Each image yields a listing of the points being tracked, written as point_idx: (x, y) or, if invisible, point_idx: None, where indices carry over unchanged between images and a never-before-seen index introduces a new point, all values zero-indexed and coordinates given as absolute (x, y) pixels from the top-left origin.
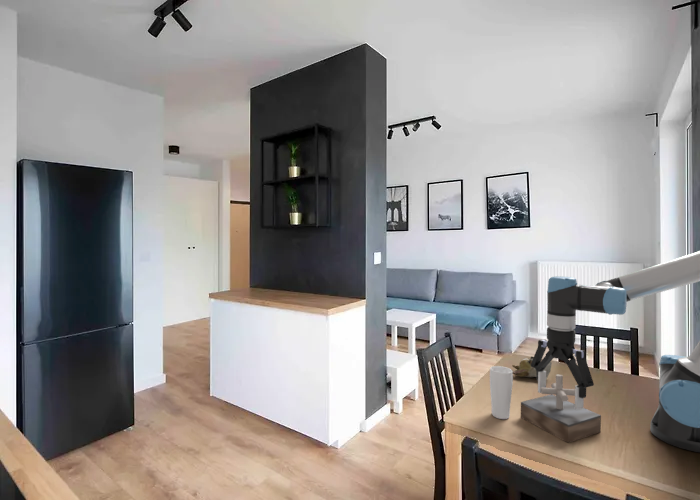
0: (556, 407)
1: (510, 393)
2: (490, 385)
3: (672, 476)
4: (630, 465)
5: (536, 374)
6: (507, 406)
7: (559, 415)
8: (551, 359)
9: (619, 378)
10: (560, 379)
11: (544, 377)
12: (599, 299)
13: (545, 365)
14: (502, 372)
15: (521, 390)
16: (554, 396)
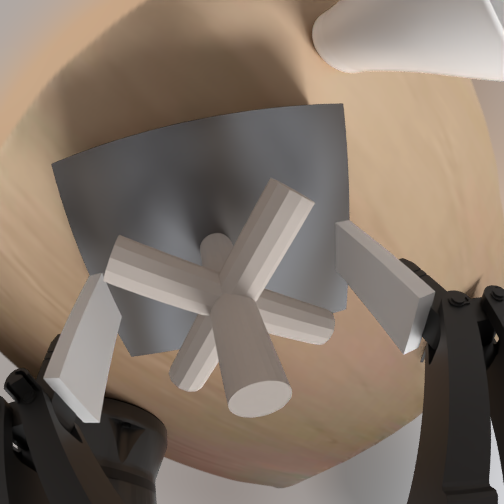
0: (222, 235)
1: (370, 22)
2: None
3: None
4: None
5: (431, 278)
6: (333, 24)
7: (143, 188)
8: (417, 475)
9: (345, 451)
10: (223, 373)
11: (383, 310)
12: None
13: (432, 384)
14: None
15: (438, 268)
16: (326, 307)
